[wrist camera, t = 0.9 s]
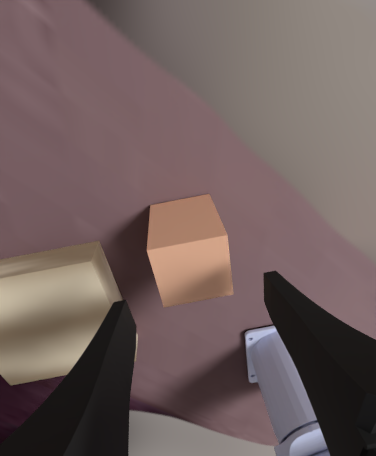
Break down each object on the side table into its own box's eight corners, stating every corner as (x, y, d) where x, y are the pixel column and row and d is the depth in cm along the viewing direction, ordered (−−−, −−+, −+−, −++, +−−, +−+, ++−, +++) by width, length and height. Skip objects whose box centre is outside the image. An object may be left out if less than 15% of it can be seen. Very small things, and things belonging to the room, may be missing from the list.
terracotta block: (215, 243, 22) (233, 294, 16) (163, 253, 22) (163, 307, 16) (209, 193, 19) (227, 235, 14) (150, 205, 19) (146, 250, 14)
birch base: (138, 334, 27) (135, 361, 24) (25, 356, 27) (10, 385, 24) (99, 238, 21) (91, 261, 18) (-46, 266, 21) (-76, 293, 18)
